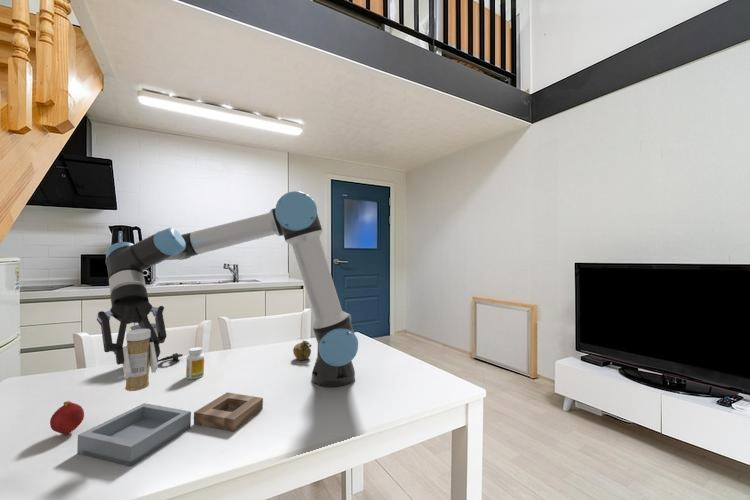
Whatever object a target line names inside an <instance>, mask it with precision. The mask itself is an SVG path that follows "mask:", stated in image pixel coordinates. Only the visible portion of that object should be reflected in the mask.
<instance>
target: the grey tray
mask: <svg viewBox="0 0 750 500" xmlns="http://www.w3.org/2000/svg"><path fill="white" fill-rule="evenodd" d="M191 418H192V412H191V411H190V410H185V409H179V408H173V407H167V406H162V405H161V406H160V405H157V404H156V405H155V404H150V403H144V402H143V403H142V404H140V405H139V404H138V406H135V407H134V408H131V409H129V410H127V411H125V412H123V413H121V414H118V415H116V416H115V417H112V418H111V419H107V420H105V421H104V422H102V423H99V424H97V425H95V426H93V427H92V428H89V429H86V430H85V431H83V432H81V433H79V434H78V435H77V448H76V449H77V451H76V452H77V454H79V455H83V456H87V457H90V458H95V459H98V460H103V461H107V462H110V463H111V462H112V463H116V464H119V465H124V466H128V467H132V466H134V465H135V464H136V463H138V462H140V461H141V460H143V459H145V458H146V457H147V456H149V455H150V454H152V453H153V452H155V451H156V450H158V449H160V448H161V447H163V446H165V445H166V444H168V443H169V442H170V441H172V440H174V439H175V438H176V437H178V436H180V435H182V434H183V433H184V432H186V431H188V430H190V428H191V424H192V422H191Z"/></svg>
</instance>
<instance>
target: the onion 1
mask: <svg viewBox="0 0 750 500" xmlns="http://www.w3.org/2000/svg"><path fill="white" fill-rule="evenodd" d="M84 418H85V410H84V409H83V407H82V405H79V404H77V403H74V402H72V401H70V400H66V401H64V402H63V405H62V406H60V407H59V408H58V409H57V410H56V411H55V412H54V413H53V414H52V416H51V417H50V420H49V424H50V428H51V430H52V431H53V432H55V433H59V434H62V435H64V436H65V435H66V436H67V435H69V434H71V433H72V432H73V431H75V430H76V429H77V428H78V427H79V426H80V425H81V423H83V421H84Z"/></svg>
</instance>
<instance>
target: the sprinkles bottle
mask: <svg viewBox="0 0 750 500" xmlns="http://www.w3.org/2000/svg"><path fill="white" fill-rule="evenodd" d="M125 337H126V339H125V340H126V346H127V348H128V355H129V362H130V369H131V373H130V376H129V378H126V379H125V387H124V389H125V391H127V392H135V391H141V390H144V389H146V388H148V387H149V385H150V382H149V381H150V380H149V379H150V378H149V377H150V376H149V375H150V373H149V372H150V366H149V360H150V359H149V340H150V337H151V330H150V329H135V330H131V329H130V330H128V331H127V332H126V333H125Z"/></svg>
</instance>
